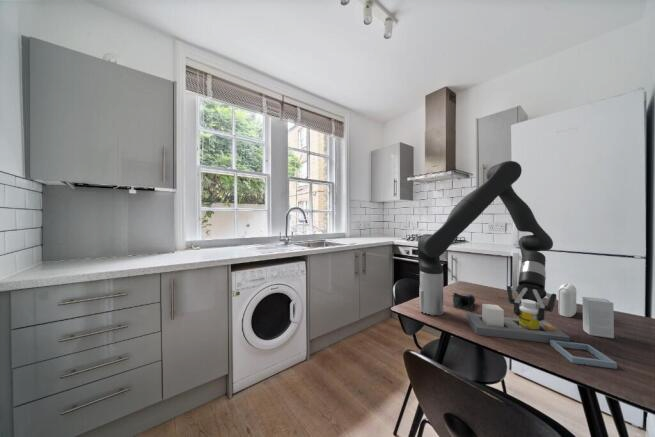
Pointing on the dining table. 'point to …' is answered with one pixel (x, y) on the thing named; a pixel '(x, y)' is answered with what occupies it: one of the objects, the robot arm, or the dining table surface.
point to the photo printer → (567, 300)
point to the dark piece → (463, 301)
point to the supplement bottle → (528, 315)
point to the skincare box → (598, 317)
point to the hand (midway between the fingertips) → (528, 317)
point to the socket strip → (511, 326)
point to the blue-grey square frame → (580, 360)
